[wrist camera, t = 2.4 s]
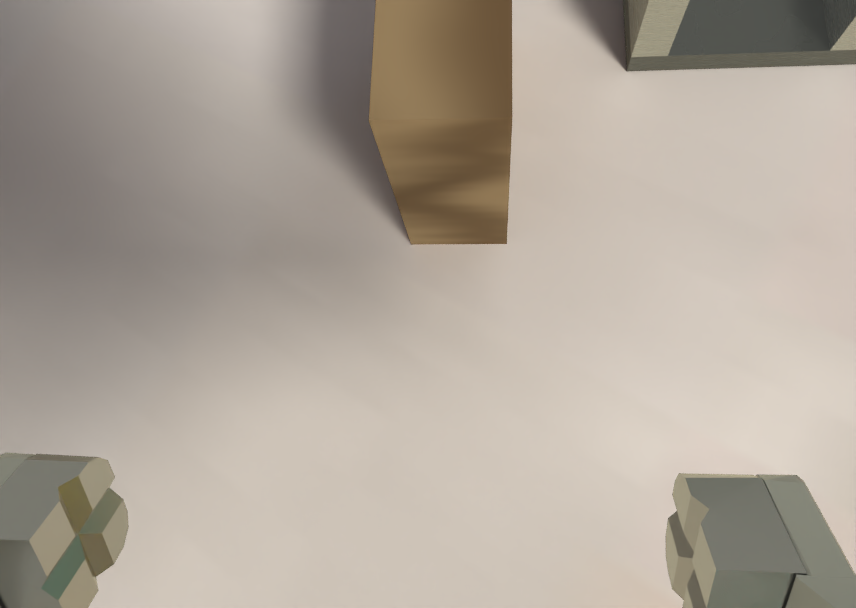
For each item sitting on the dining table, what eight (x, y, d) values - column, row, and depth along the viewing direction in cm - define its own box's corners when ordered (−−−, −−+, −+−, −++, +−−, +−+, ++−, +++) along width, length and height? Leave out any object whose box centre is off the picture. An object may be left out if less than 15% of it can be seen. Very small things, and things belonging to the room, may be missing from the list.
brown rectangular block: (411, 244, 29) (368, 120, 19) (419, 40, 31) (385, -159, 22) (506, 244, 28) (512, 117, 19) (506, 37, 31) (511, -168, 21)
